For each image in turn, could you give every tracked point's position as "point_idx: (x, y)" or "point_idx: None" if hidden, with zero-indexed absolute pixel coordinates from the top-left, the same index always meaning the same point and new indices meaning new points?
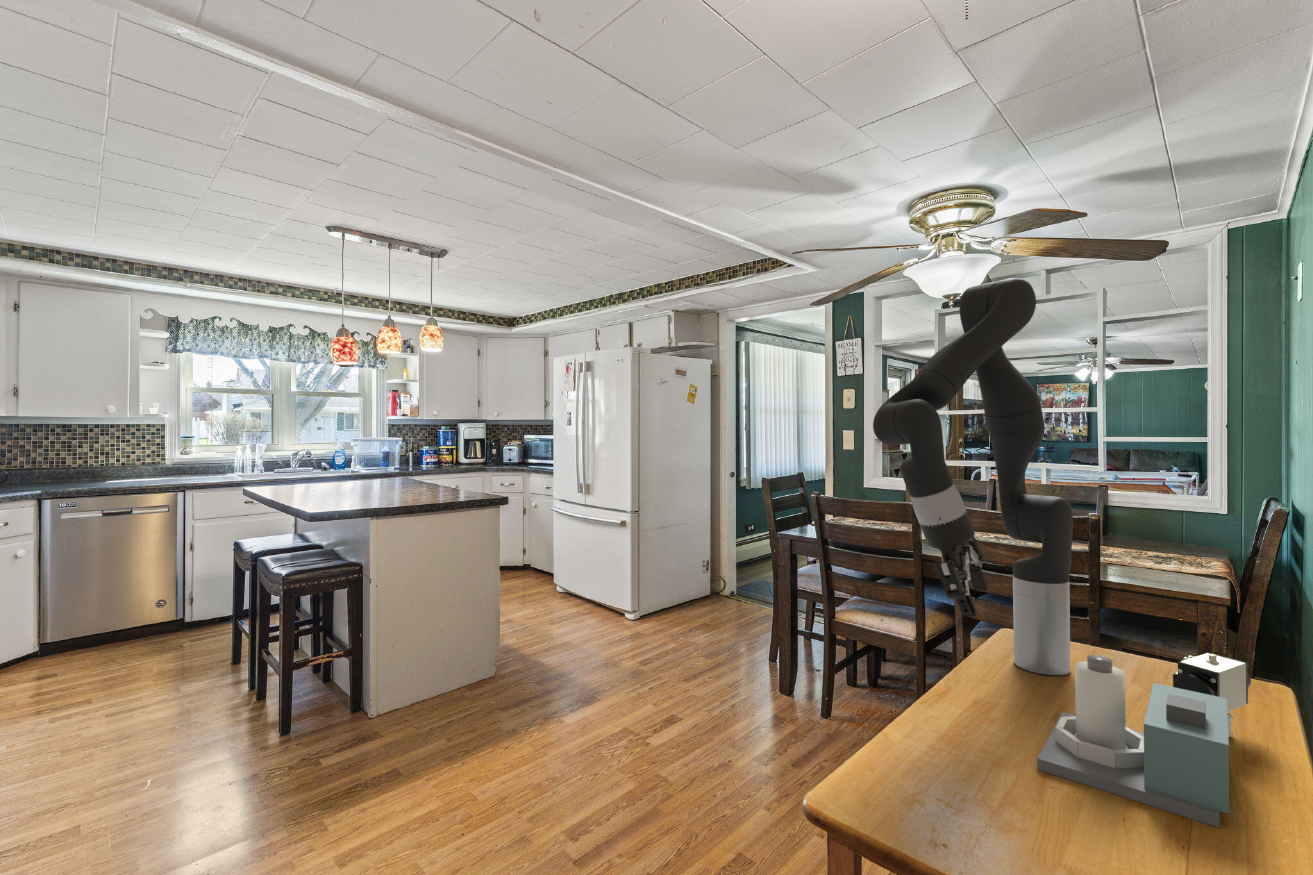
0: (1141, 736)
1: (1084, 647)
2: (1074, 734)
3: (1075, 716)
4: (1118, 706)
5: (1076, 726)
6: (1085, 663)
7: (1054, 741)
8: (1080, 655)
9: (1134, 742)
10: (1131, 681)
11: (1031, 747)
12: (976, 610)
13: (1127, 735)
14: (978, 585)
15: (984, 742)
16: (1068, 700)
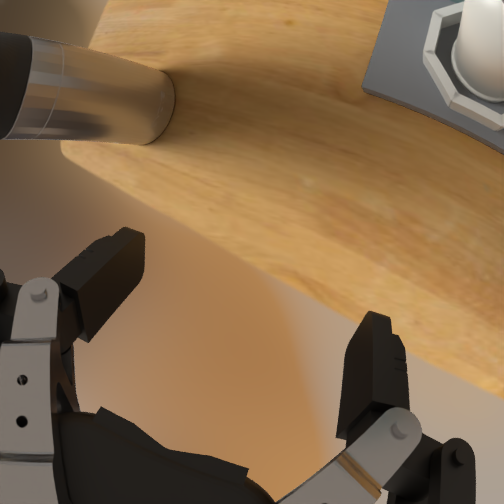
0: None
1: None
2: (480, 95)
3: (436, 74)
4: None
5: (499, 91)
6: (495, 9)
7: (498, 135)
8: None
9: None
10: (167, 6)
11: (491, 172)
12: (374, 319)
13: (453, 17)
14: (129, 272)
15: (496, 250)
16: (265, 71)
